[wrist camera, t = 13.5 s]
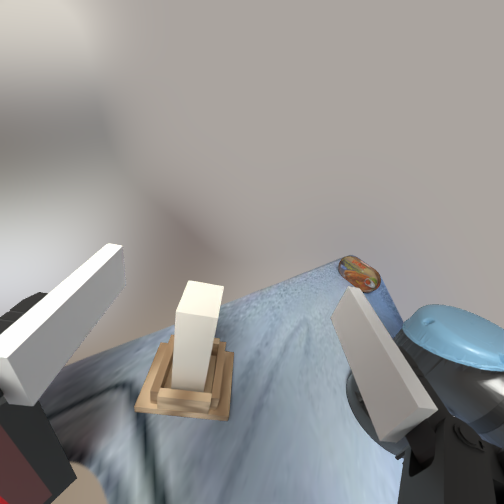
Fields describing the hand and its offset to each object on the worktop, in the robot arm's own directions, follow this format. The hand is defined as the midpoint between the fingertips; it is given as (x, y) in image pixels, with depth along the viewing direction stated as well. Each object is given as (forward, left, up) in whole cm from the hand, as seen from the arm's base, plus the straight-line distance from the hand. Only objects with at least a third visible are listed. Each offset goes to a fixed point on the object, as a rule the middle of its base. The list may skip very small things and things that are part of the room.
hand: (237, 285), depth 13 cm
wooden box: (-8, -9, -32) cm, 34 cm away
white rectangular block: (-8, -9, -31) cm, 33 cm away
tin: (-68, +8, -32) cm, 76 cm away
